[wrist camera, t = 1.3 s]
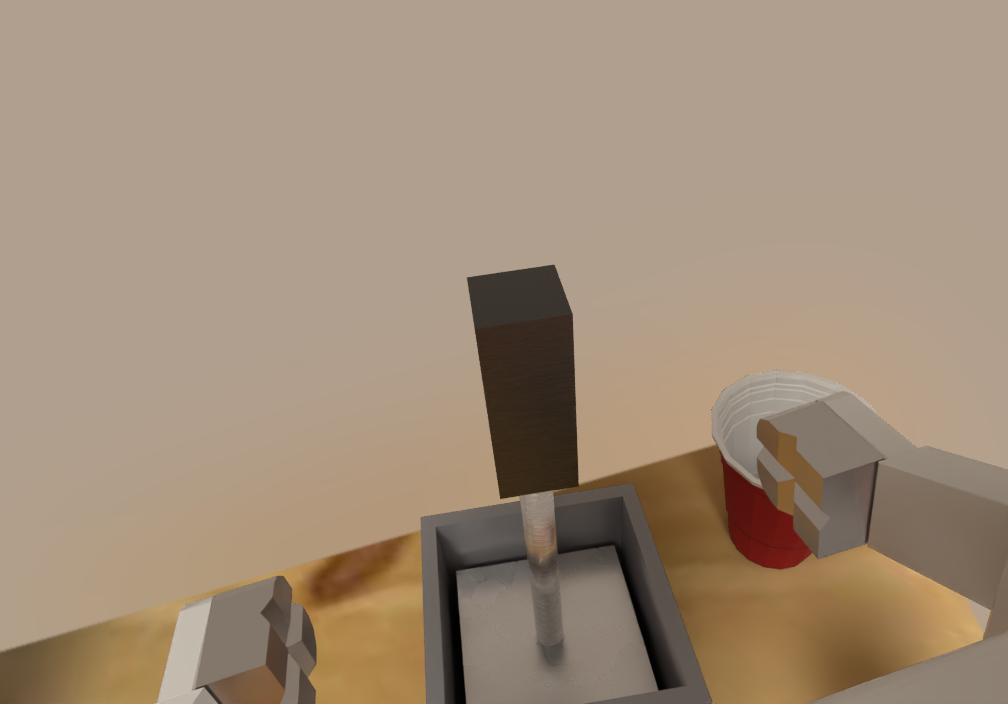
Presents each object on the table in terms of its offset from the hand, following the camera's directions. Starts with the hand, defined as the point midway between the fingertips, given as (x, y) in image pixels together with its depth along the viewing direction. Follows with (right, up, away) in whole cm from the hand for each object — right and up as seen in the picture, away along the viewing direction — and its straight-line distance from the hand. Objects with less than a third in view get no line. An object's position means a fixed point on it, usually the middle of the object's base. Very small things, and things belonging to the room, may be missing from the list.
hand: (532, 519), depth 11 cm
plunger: (+2, -12, +24) cm, 27 cm away
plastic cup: (+19, -11, +38) cm, 45 cm away
